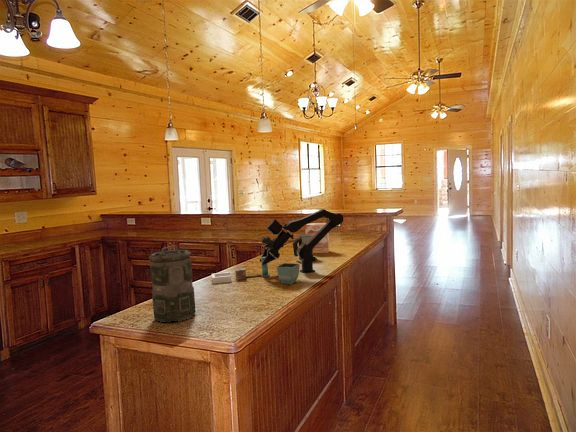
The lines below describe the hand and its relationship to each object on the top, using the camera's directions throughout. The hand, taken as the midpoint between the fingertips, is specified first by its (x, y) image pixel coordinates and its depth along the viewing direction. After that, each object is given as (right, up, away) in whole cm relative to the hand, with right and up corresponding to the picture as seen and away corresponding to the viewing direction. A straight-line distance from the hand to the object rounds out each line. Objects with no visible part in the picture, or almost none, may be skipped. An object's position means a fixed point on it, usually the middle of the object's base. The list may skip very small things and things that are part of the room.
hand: (261, 262), depth 227 cm
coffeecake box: (+34, 0, +61) cm, 70 cm away
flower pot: (+15, -8, -17) cm, 24 cm away
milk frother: (+27, -2, +38) cm, 47 cm away
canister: (-30, -15, -59) cm, 68 cm away
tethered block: (-4, -8, 0) cm, 9 cm away
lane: (-21, -9, -3) cm, 23 cm away
